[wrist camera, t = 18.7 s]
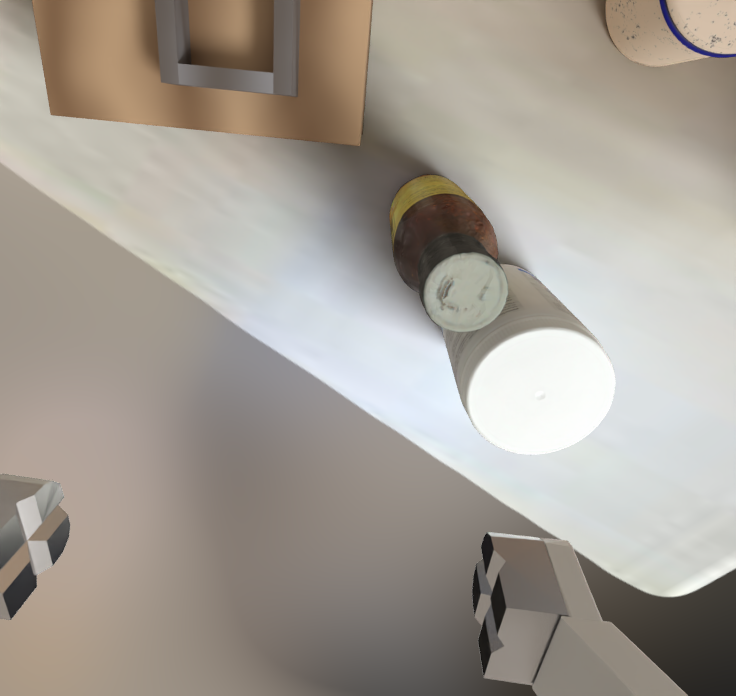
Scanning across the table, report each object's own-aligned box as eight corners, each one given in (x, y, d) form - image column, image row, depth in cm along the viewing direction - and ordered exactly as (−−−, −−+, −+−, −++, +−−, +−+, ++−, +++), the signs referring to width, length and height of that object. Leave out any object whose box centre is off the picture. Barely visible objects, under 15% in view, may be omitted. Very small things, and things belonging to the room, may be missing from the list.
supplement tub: (439, 362, 46) (458, 460, 33) (439, 263, 42) (460, 329, 29) (545, 358, 45) (607, 457, 32) (554, 257, 41) (630, 322, 28)
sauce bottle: (374, 210, 41) (358, 281, 23) (432, 154, 39) (466, 184, 21) (425, 267, 42) (449, 375, 24) (484, 217, 40) (556, 295, 22)
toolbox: (382, -48, 33) (377, -125, 23) (367, 140, 38) (357, 147, 28) (99, -75, 33) (-36, -166, 23) (121, 115, 38) (18, 113, 28)
